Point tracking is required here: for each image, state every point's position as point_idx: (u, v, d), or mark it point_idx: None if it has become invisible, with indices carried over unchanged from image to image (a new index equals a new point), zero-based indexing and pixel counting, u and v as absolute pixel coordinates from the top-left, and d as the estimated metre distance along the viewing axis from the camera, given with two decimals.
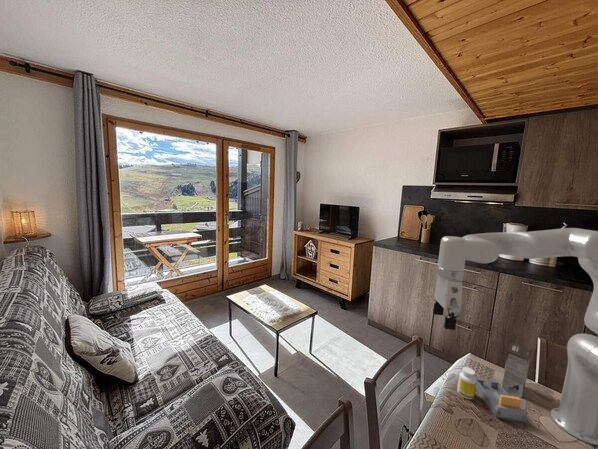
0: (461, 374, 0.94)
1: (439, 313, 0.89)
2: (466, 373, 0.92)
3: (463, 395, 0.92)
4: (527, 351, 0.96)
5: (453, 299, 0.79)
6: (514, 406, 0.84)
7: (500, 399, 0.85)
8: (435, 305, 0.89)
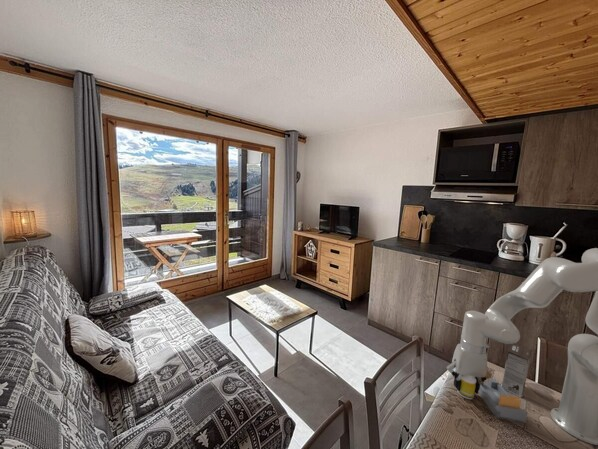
0: None
1: None
2: None
3: (463, 395, 0.92)
4: (527, 351, 0.96)
5: None
6: (514, 406, 0.84)
7: (500, 399, 0.85)
8: (460, 382, 0.93)
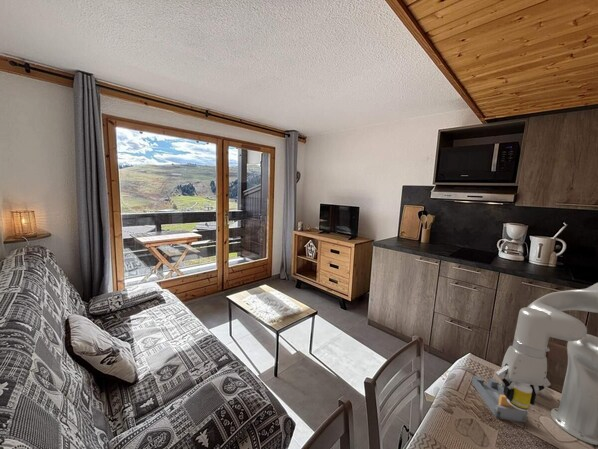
0: None
1: None
2: None
3: (516, 406, 0.79)
4: None
5: None
6: None
7: (500, 399, 0.85)
8: None
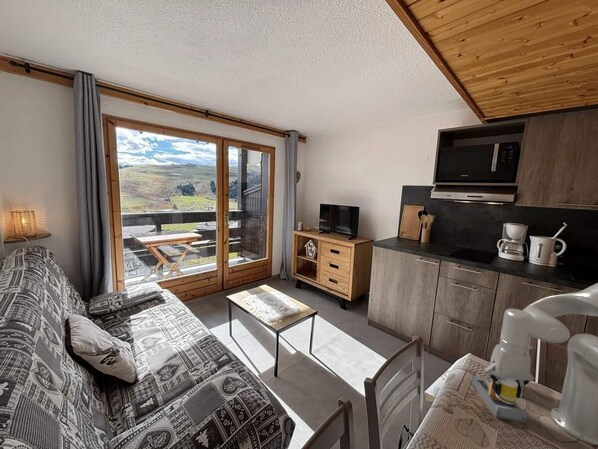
0: None
1: None
2: None
3: (504, 400, 0.85)
4: None
5: None
6: None
7: (490, 386, 0.91)
8: (500, 386, 0.86)
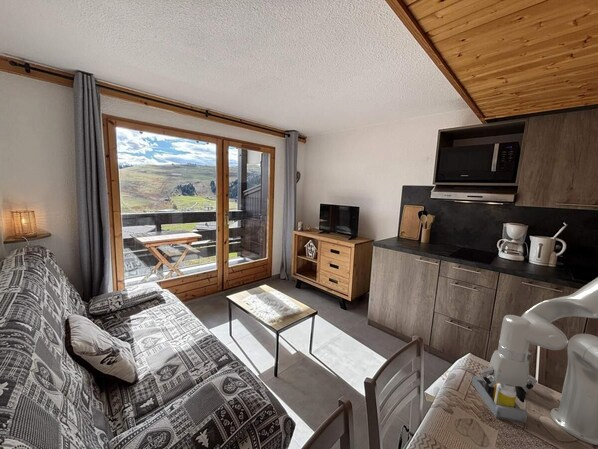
0: (499, 386, 0.87)
1: None
2: (505, 386, 0.86)
3: None
4: None
5: None
6: None
7: None
8: (493, 388, 0.86)
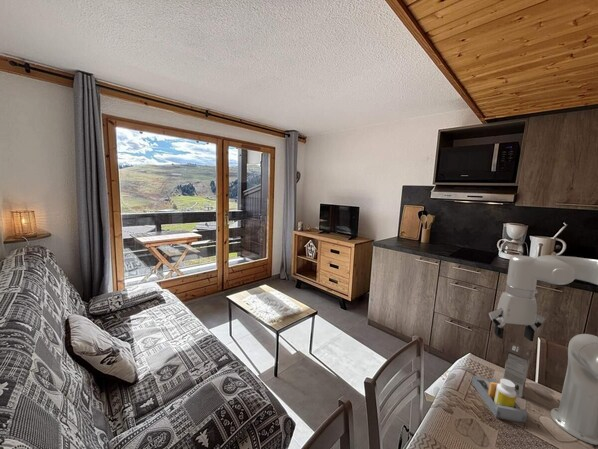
0: (499, 386, 0.87)
1: None
2: (505, 386, 0.86)
3: None
4: (527, 351, 0.96)
5: None
6: None
7: (490, 386, 0.91)
8: None
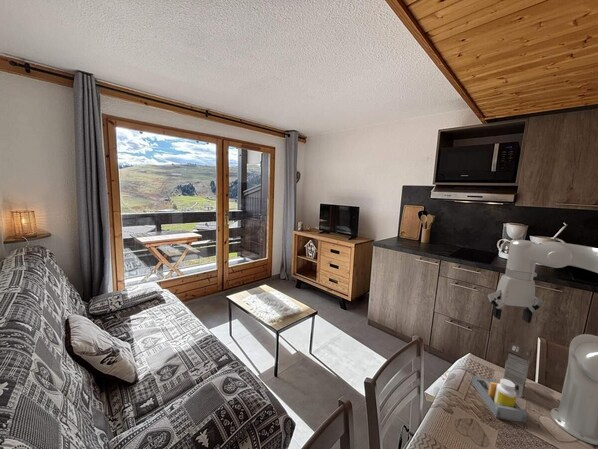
0: (499, 386, 0.87)
1: None
2: (505, 386, 0.86)
3: None
4: (528, 351, 0.96)
5: None
6: None
7: (490, 386, 0.91)
8: None
